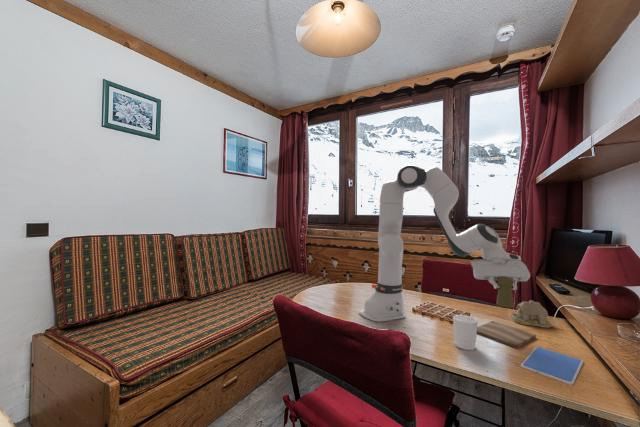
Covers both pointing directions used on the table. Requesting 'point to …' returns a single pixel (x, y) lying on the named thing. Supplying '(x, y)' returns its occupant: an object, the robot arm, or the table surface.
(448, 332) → the table surface
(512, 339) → the walnut board
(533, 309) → the ceramic model
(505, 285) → the olive green waisted column
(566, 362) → the tablet computer
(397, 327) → the table surface
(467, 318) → the white cup
